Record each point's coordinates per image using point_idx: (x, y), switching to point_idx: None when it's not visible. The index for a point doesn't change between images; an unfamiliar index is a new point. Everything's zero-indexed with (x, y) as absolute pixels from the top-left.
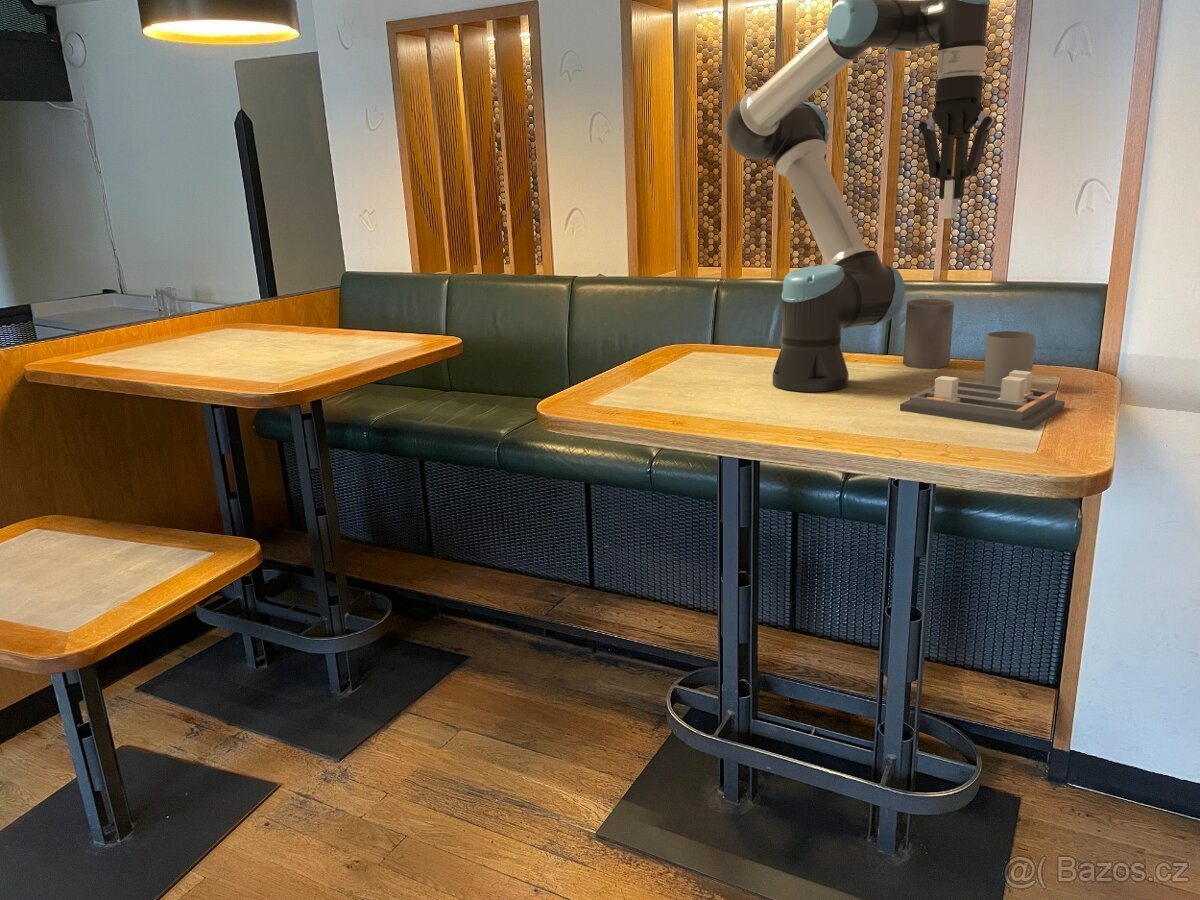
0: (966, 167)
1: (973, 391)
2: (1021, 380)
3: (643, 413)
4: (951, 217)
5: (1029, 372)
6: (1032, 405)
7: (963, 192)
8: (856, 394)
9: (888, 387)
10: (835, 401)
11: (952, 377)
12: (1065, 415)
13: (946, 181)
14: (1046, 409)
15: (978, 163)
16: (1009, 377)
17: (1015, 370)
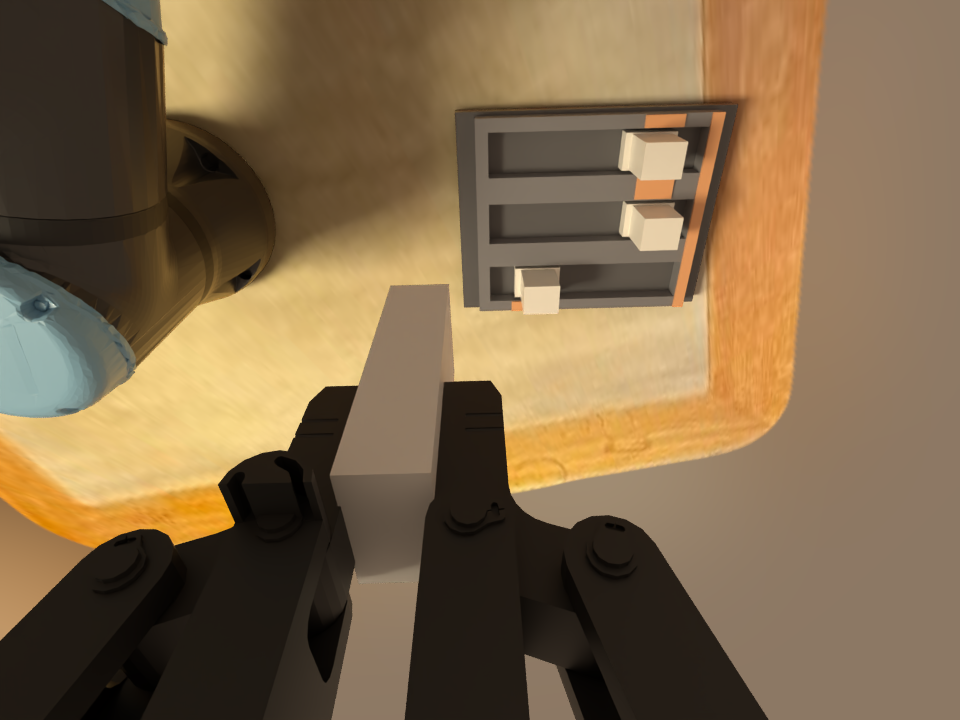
0: (583, 708)
1: (564, 202)
2: (678, 243)
3: (188, 500)
4: (453, 364)
5: (683, 152)
6: (693, 256)
7: (501, 415)
8: (329, 239)
9: (337, 138)
10: (337, 308)
11: (548, 288)
12: (736, 166)
13: (374, 575)
14: (708, 200)
15: (724, 681)
16: (651, 229)
17: (649, 146)
